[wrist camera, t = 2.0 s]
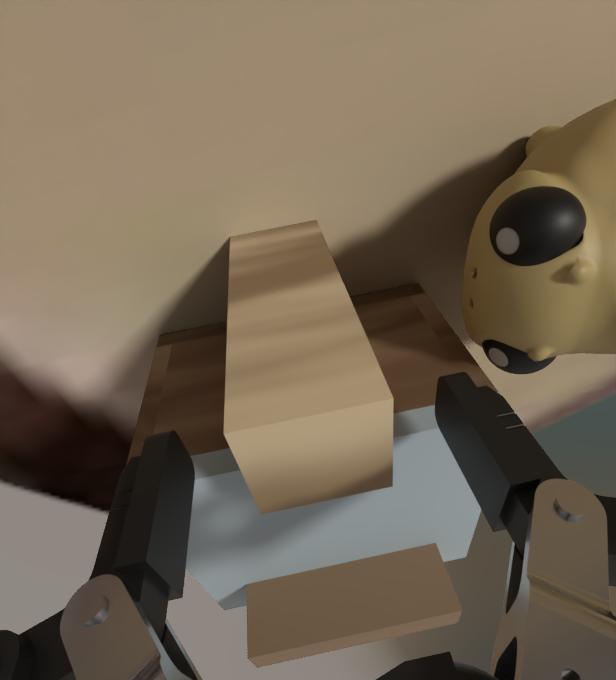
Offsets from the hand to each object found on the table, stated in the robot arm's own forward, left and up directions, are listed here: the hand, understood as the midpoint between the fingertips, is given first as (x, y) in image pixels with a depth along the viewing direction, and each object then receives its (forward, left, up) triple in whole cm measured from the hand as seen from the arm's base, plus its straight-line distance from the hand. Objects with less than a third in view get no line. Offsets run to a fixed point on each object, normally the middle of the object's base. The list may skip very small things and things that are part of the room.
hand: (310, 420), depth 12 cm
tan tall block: (0, 0, -9) cm, 9 cm away
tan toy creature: (-1, +12, -10) cm, 16 cm away
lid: (+9, 0, -1) cm, 9 cm away
